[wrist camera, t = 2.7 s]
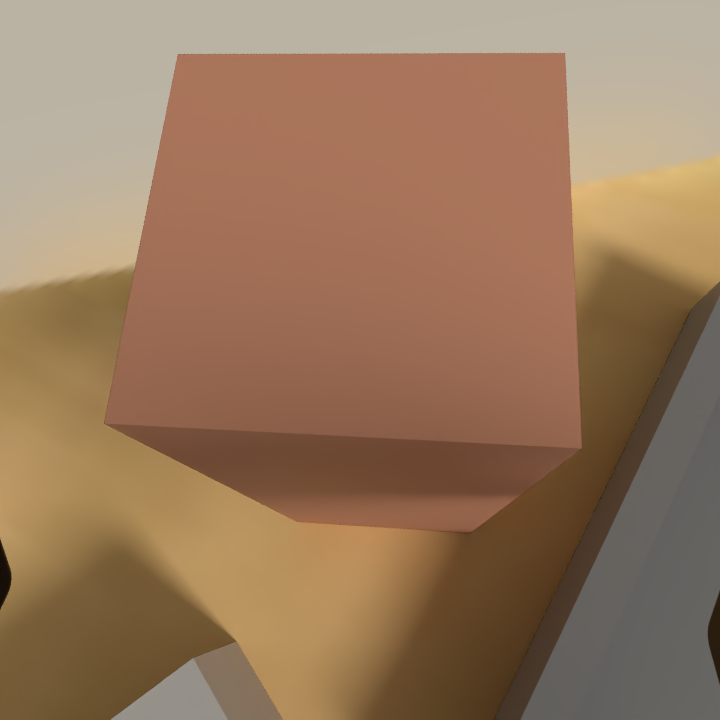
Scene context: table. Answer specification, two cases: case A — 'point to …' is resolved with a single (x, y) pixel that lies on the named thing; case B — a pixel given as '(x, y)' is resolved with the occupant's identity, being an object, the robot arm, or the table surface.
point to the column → (359, 284)
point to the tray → (643, 564)
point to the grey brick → (207, 691)
